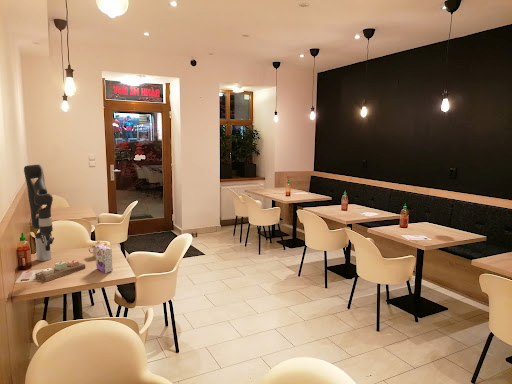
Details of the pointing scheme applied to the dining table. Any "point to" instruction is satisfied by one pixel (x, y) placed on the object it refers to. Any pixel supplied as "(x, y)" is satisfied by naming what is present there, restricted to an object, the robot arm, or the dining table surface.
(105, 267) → the candy box
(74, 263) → the key three
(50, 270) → the key one
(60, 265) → the key two
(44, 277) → the key block
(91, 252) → the teacup with lid
